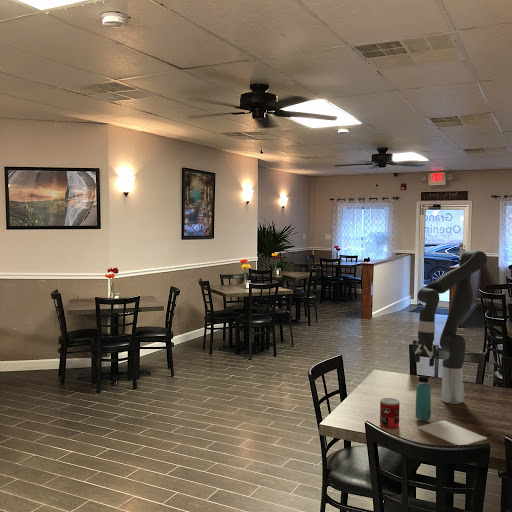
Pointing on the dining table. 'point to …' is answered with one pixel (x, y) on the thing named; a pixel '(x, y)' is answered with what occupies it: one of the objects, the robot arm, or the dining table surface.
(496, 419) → the dining table surface
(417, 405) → the beverage bottle
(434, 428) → the mat
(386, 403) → the canned food
